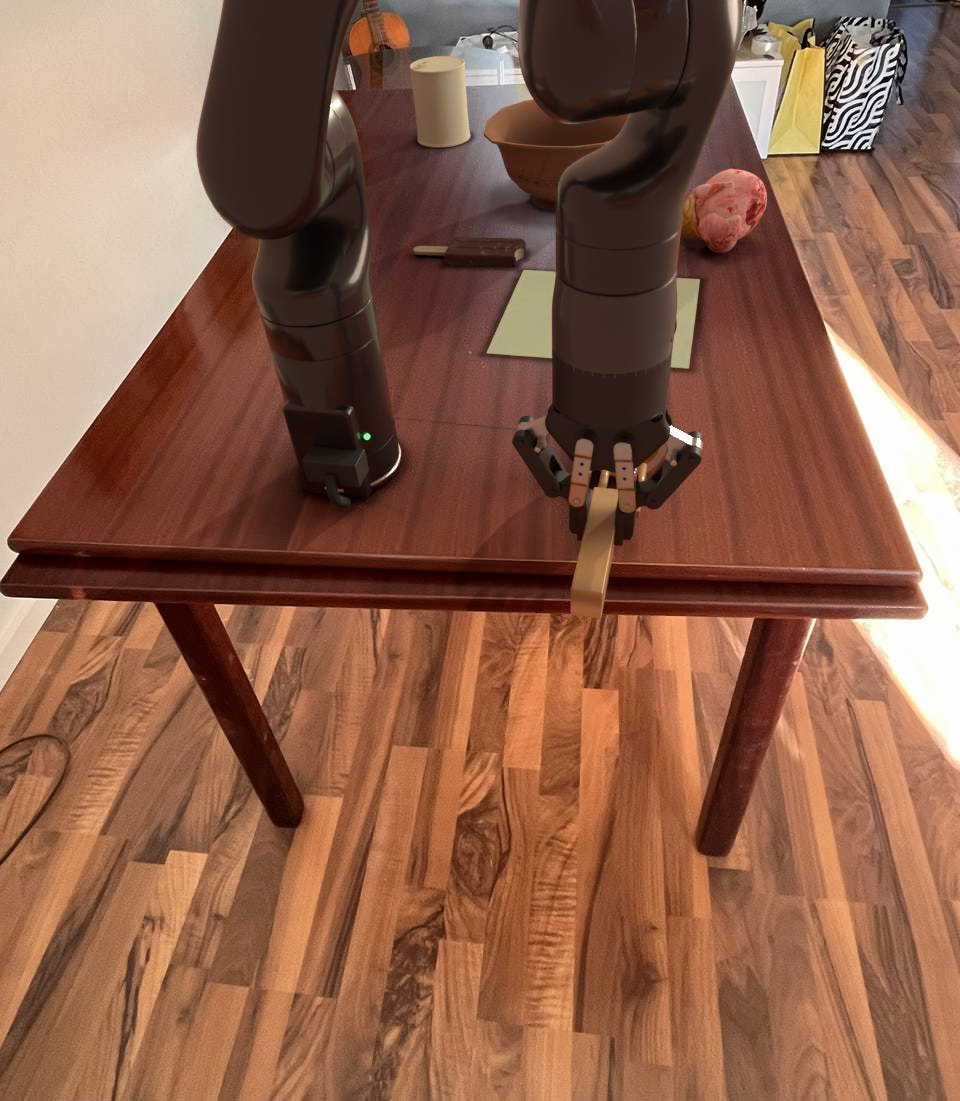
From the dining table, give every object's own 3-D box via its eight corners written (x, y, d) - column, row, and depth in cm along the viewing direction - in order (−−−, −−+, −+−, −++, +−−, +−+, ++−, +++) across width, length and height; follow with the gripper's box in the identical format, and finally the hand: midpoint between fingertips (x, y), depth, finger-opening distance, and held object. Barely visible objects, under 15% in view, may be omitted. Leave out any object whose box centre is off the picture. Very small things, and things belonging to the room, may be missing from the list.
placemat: (688, 370, 85) (688, 368, 85) (486, 354, 90) (486, 353, 90) (699, 280, 99) (700, 279, 99) (523, 271, 104) (523, 269, 103)
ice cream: (631, 247, 103) (747, 212, 93) (638, 180, 105) (751, 138, 95) (670, 288, 111) (780, 259, 101) (675, 225, 113) (784, 190, 103)
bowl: (467, 224, 115) (460, 142, 107) (512, 166, 129) (510, 90, 121) (621, 237, 109) (626, 151, 101) (651, 174, 123) (657, 95, 115)
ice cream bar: (409, 265, 107) (521, 268, 104) (407, 253, 106) (521, 256, 103) (419, 247, 111) (528, 250, 108) (418, 235, 109) (527, 238, 107)
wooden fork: (622, 622, 57) (624, 596, 55) (549, 612, 58) (549, 586, 56) (647, 467, 69) (649, 441, 67) (586, 461, 70) (587, 435, 68)
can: (409, 136, 142) (400, 59, 134) (457, 125, 145) (451, 49, 136) (429, 152, 136) (421, 72, 128) (479, 140, 139) (474, 61, 130)
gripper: (490, 360, 49) (503, 558, 62) (724, 378, 46) (690, 583, 59) (516, 300, 54) (524, 494, 67) (729, 313, 51) (696, 514, 64)
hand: (601, 535), depth 63 cm, fingers closed on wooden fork, 2 cm apart
